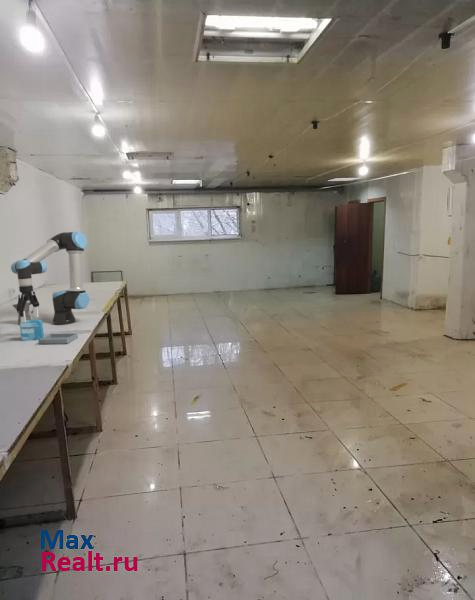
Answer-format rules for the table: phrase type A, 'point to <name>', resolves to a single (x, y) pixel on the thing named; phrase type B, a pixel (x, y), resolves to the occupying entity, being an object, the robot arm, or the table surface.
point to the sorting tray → (58, 339)
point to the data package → (31, 330)
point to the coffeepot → (25, 312)
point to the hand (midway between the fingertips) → (29, 319)
